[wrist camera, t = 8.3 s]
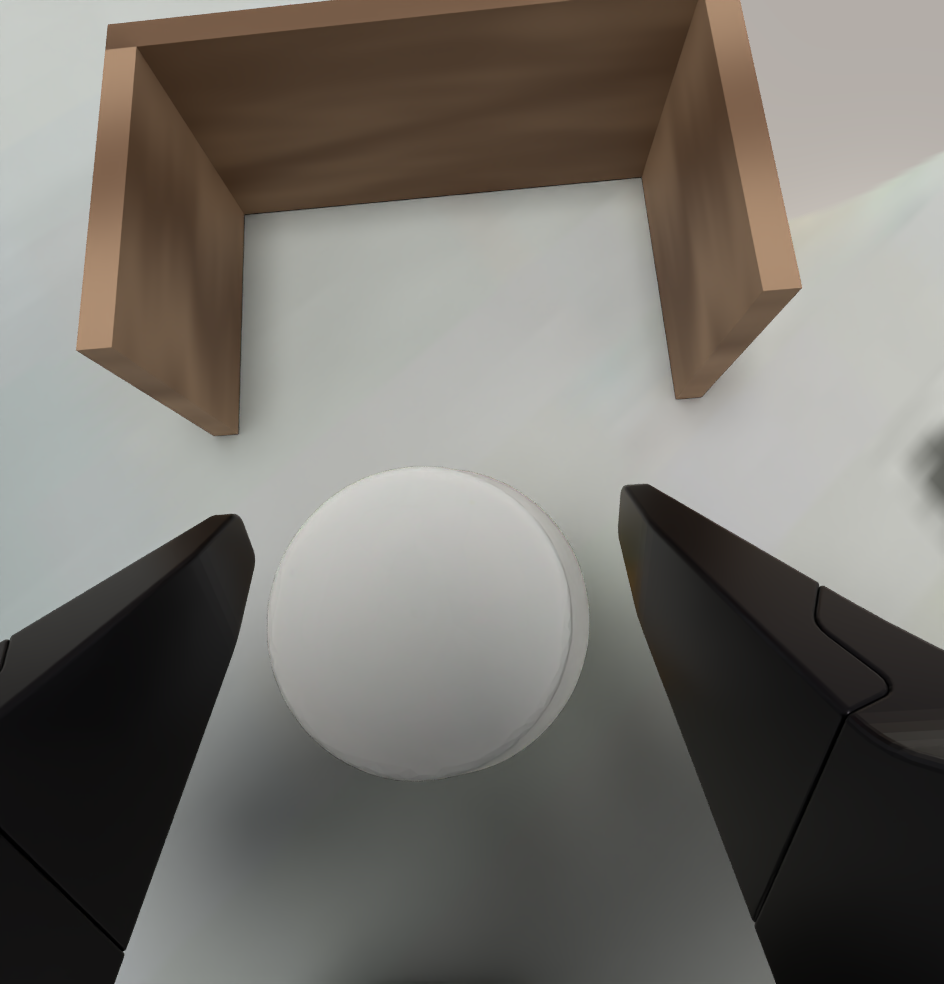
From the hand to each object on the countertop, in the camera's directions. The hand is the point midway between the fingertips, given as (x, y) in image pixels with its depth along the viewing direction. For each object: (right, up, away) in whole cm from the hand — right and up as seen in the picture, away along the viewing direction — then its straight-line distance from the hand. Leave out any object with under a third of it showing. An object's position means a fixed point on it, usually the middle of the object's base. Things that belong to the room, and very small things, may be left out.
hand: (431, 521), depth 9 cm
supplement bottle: (0, -3, +7) cm, 8 cm away
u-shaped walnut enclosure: (0, +7, +9) cm, 12 cm away
